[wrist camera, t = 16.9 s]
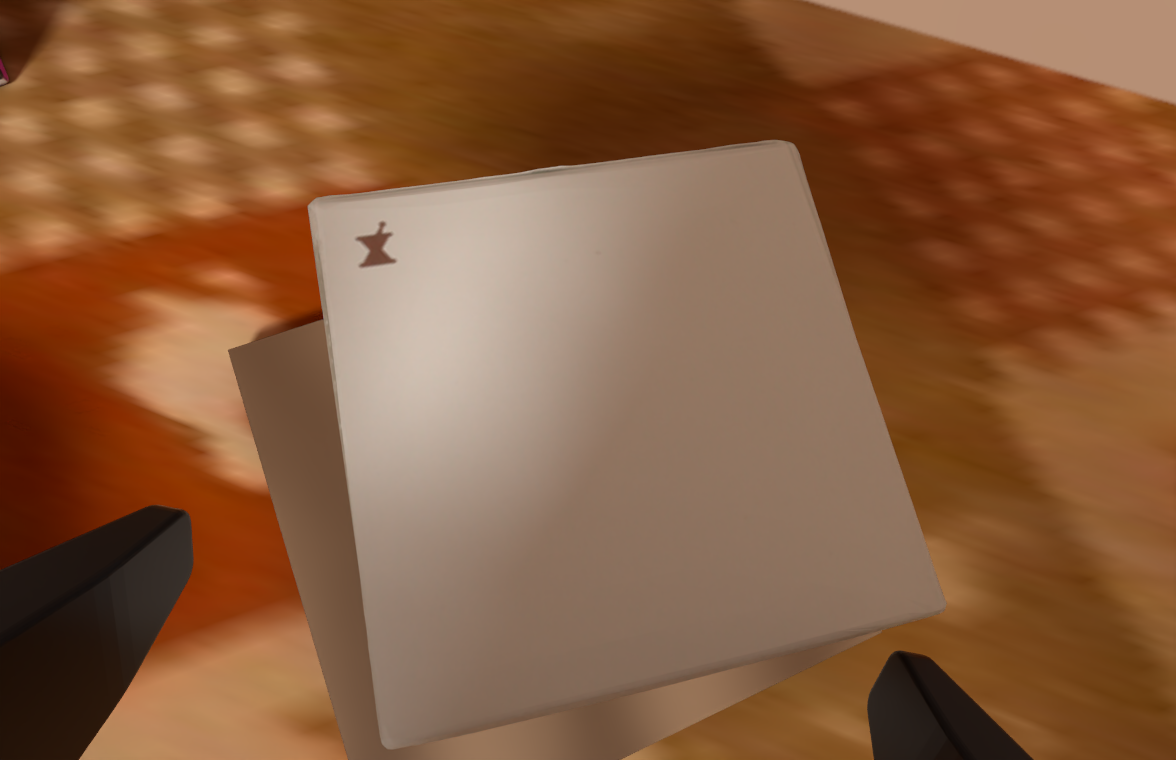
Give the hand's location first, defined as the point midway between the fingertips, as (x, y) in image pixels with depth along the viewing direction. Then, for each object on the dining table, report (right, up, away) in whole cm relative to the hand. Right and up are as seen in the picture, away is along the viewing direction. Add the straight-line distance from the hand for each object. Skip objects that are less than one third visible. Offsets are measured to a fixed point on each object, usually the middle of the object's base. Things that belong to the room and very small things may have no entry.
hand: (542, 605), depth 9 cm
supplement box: (0, -1, +12) cm, 12 cm away
